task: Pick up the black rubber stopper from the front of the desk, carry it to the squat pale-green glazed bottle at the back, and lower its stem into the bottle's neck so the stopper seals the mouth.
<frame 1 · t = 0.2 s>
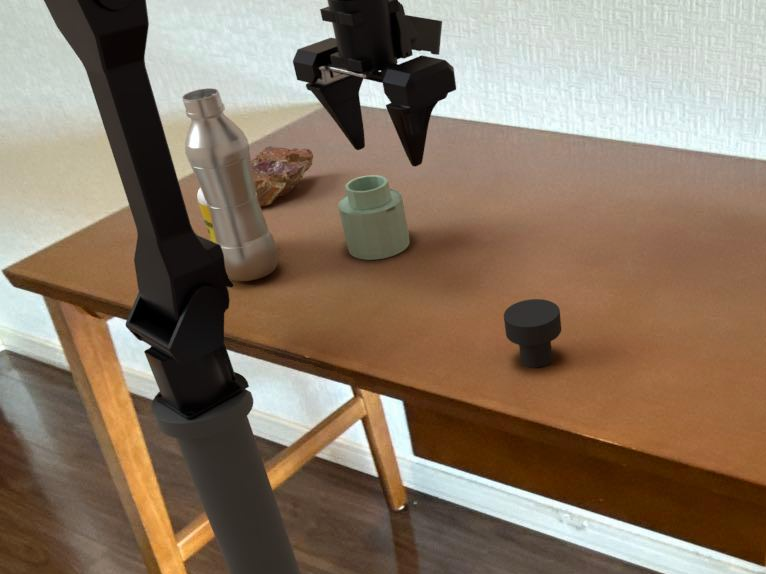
hand: (388, 156, 107), 12 cm above the table, tool pointing down, fingers open, 9 cm apart
pill bottle: (244, 259, 121), on the table, touching plastic bottle
stopper: (536, 359, 97), on the table
plastic bottle: (254, 276, 117), on the table, touching pill bottle
mineral specimen: (276, 194, 135), on the table
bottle: (379, 245, 120), on the table
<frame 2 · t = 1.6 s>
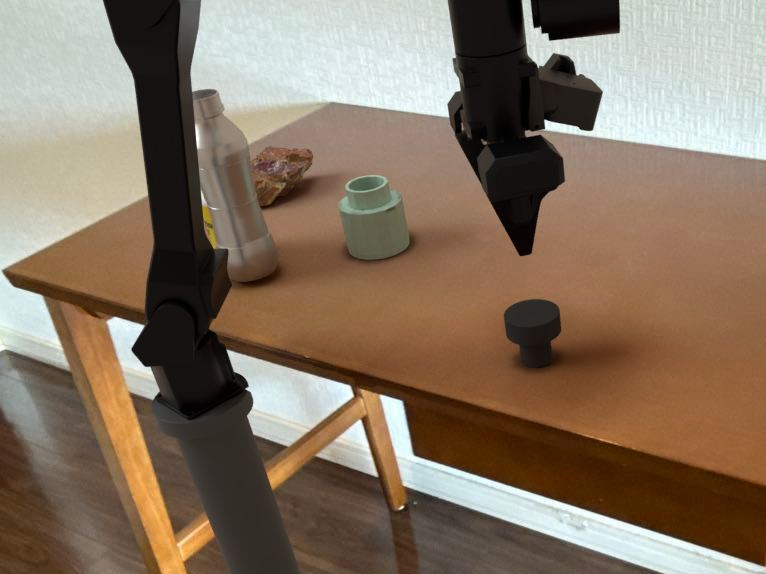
hand: (513, 233, 91), 12 cm above the table, tool pointing down, fingers open, 9 cm apart
pill bottle: (244, 259, 121), on the table, touching plastic bottle
everything else where it was.
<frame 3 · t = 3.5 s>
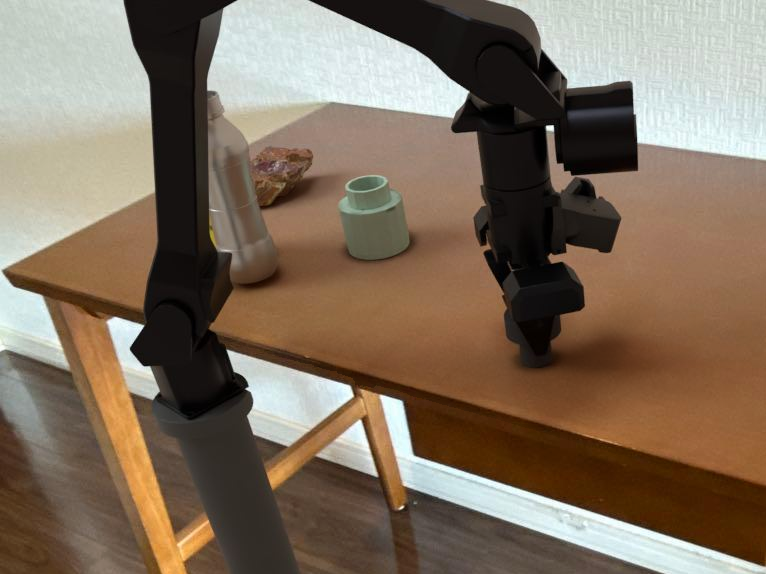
hand: (534, 340, 96), 2 cm above the table, tool pointing down, fingers closed on stopper, 5 cm apart
stopper: (536, 359, 97), on the table, touching gripper
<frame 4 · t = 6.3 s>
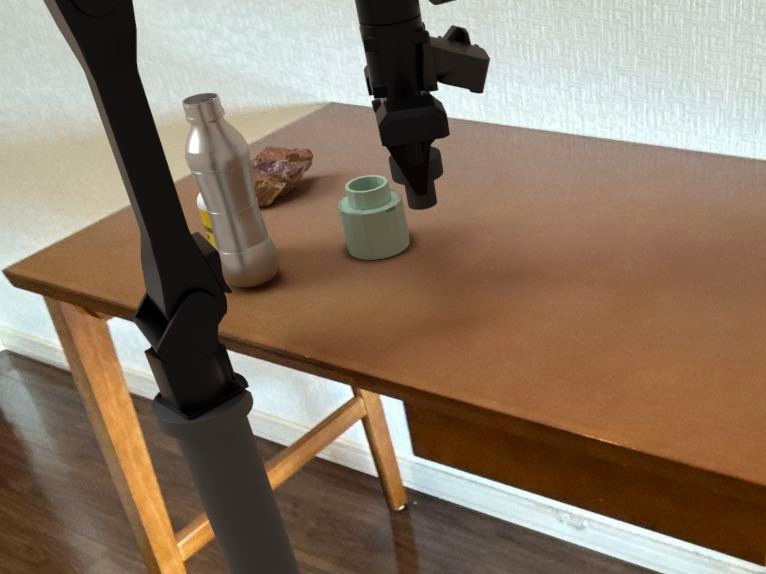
hand: (418, 184, 103), 11 cm above the table, tool pointing down, fingers closed on stopper, 5 cm apart
stopper: (422, 204, 104), point 9 cm above the table, touching gripper
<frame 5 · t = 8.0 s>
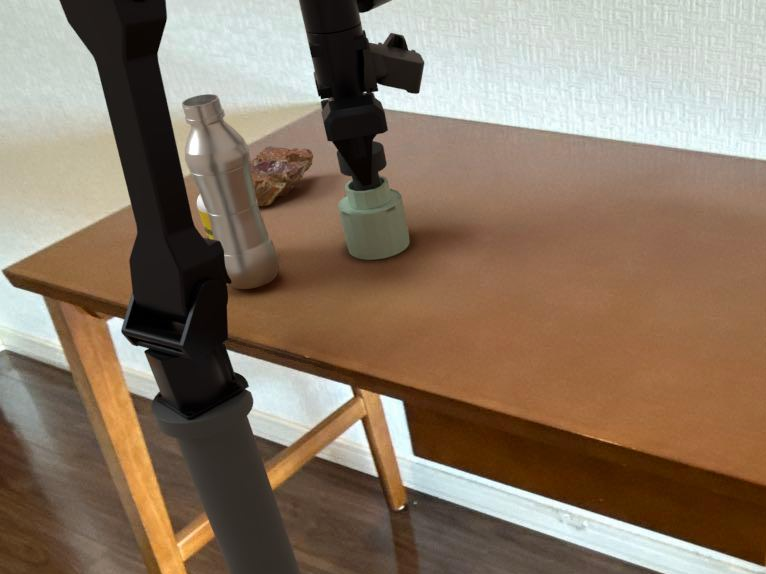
hand: (364, 176, 114), 8 cm above the table, tool pointing down, fingers closed on stopper, 5 cm apart
stopper: (369, 193, 115), point 6 cm above the table, touching gripper
when the fingers open (6 cm above the table, at t = 9.1 s): stopper stays where it is, resting on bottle.
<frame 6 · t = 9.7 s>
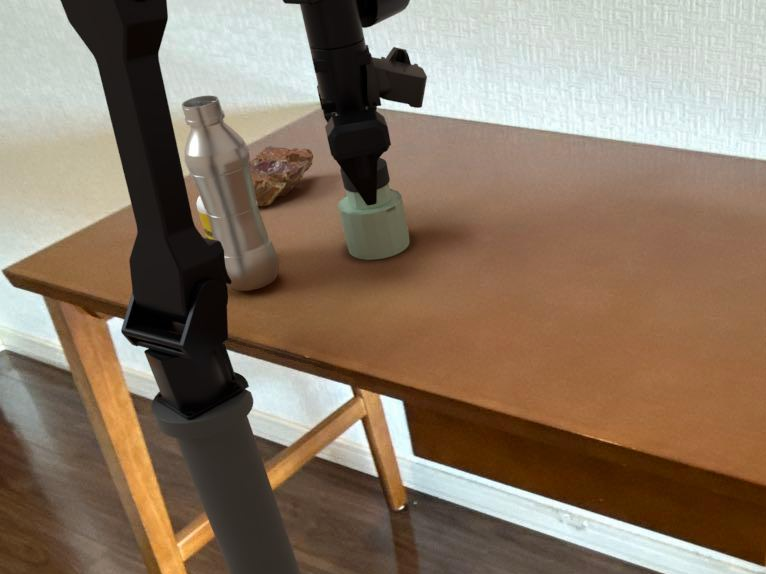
hand: (367, 189, 115), 7 cm above the table, tool pointing down, fingers open, 9 cm apart
stopper: (372, 209, 117), point 4 cm above the table, touching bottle
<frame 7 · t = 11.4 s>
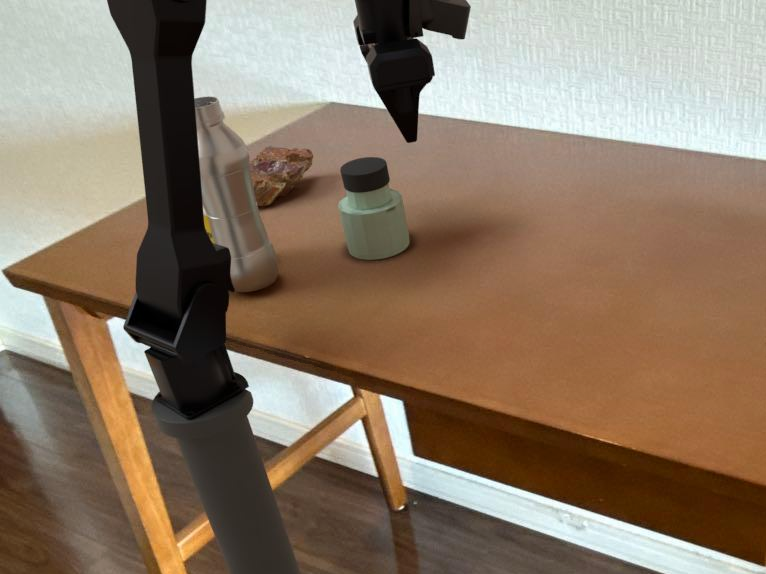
hand: (406, 127, 111), 13 cm above the table, tool pointing down, fingers open, 9 cm apart
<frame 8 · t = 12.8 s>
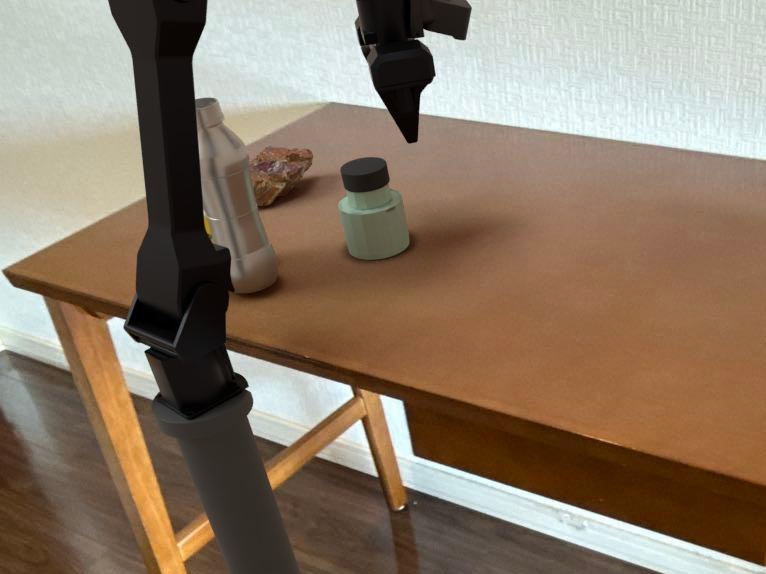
hand: (407, 128, 111), 13 cm above the table, tool pointing down, fingers open, 9 cm apart
at the end: stopper 0.1 cm off-centre in the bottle, point 4.5 cm above the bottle's base; stopper tilted 0° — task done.
